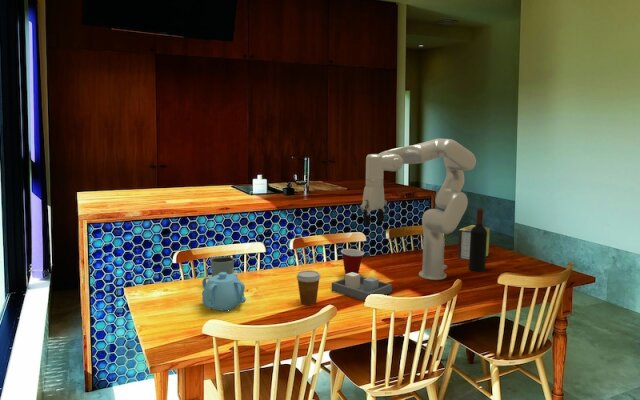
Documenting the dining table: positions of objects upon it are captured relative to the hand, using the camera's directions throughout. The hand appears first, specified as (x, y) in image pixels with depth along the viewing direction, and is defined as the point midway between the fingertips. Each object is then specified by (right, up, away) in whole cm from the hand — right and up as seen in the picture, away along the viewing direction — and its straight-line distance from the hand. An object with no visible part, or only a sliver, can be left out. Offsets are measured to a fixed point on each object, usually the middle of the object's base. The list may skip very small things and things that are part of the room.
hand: (373, 222), depth 228 cm
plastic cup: (-8, -26, +18) cm, 32 cm away
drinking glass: (-66, -28, +4) cm, 72 cm away
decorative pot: (-61, -32, -21) cm, 72 cm away
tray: (-5, -29, -4) cm, 30 cm away
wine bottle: (+53, -25, +28) cm, 65 cm away
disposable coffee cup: (-28, -32, -17) cm, 45 cm away
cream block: (-9, -28, -1) cm, 30 cm away
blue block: (-2, -29, -7) cm, 30 cm away
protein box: (+58, -21, +52) cm, 81 cm away
